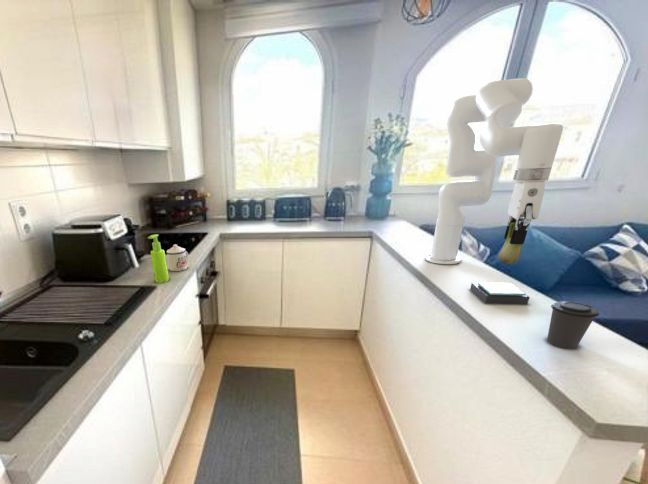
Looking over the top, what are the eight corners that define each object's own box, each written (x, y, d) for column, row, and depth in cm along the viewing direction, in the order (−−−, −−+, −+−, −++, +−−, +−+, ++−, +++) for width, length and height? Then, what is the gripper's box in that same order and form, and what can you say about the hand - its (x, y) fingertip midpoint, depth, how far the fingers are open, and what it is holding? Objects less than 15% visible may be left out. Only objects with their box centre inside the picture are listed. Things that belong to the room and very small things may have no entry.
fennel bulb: (519, 266, 100) (531, 224, 95) (498, 265, 102) (509, 224, 98) (515, 261, 105) (526, 221, 100) (495, 260, 107) (505, 221, 102)
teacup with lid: (178, 272, 159) (175, 247, 154) (165, 270, 164) (161, 246, 159) (195, 265, 167) (192, 241, 163) (182, 263, 173) (179, 240, 168)
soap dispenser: (151, 283, 148) (143, 236, 140) (160, 277, 154) (152, 233, 145) (163, 283, 146) (155, 236, 138) (171, 278, 152) (164, 233, 143)
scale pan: (477, 284, 112) (478, 282, 112) (509, 284, 110) (510, 282, 110) (490, 295, 104) (490, 293, 104) (525, 295, 102) (525, 293, 102)
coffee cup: (594, 347, 80) (611, 308, 76) (569, 354, 78) (584, 315, 74) (555, 332, 87) (568, 296, 83) (531, 339, 85) (543, 302, 81)
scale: (470, 289, 116) (471, 281, 114) (508, 290, 113) (510, 282, 112) (484, 303, 105) (487, 294, 104) (527, 304, 102) (530, 295, 101)
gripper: (561, 177, 85) (539, 249, 92) (538, 172, 99) (520, 235, 106) (523, 178, 88) (505, 248, 95) (506, 174, 102) (491, 235, 109)
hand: (513, 240), depth 101 cm, fingers closed on fennel bulb, 5 cm apart
